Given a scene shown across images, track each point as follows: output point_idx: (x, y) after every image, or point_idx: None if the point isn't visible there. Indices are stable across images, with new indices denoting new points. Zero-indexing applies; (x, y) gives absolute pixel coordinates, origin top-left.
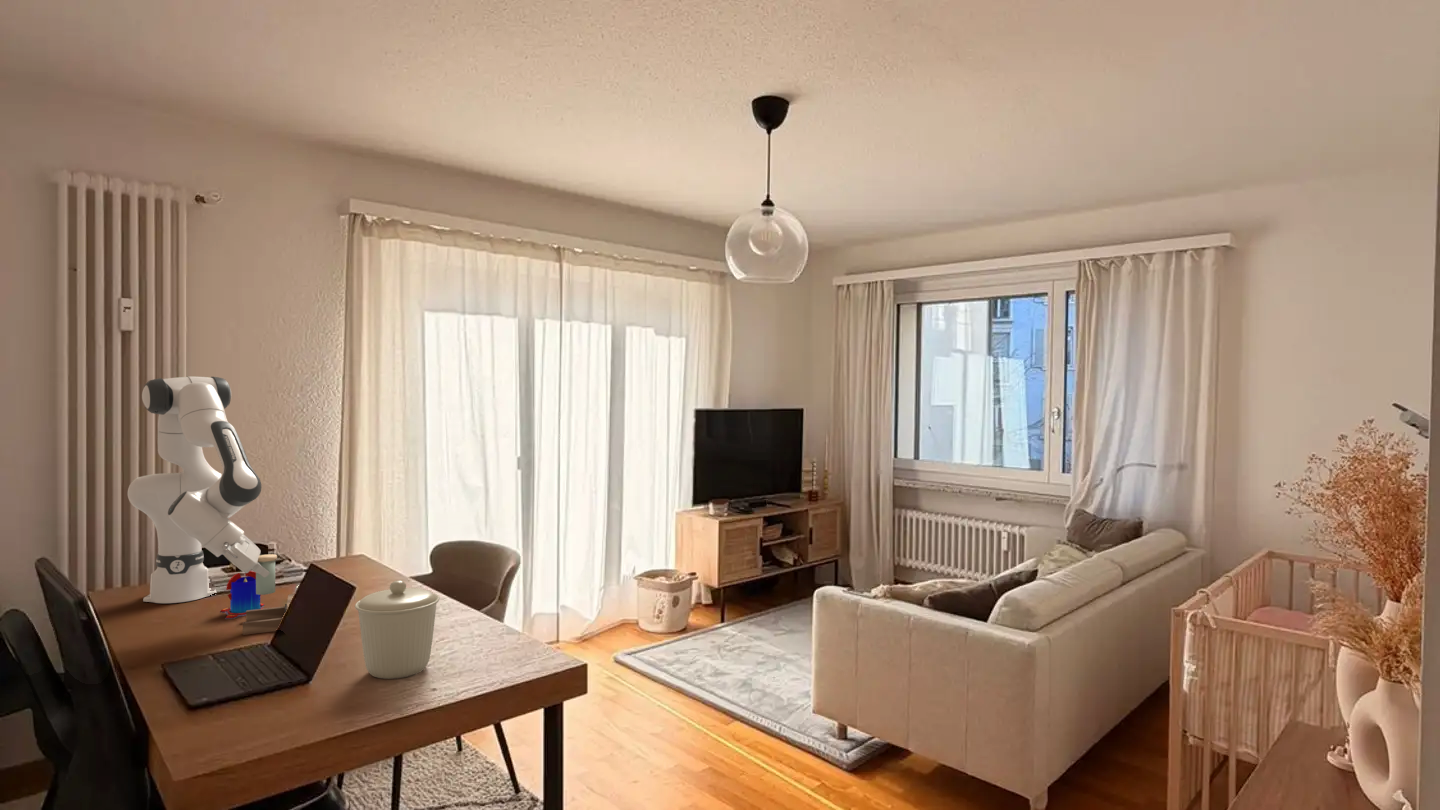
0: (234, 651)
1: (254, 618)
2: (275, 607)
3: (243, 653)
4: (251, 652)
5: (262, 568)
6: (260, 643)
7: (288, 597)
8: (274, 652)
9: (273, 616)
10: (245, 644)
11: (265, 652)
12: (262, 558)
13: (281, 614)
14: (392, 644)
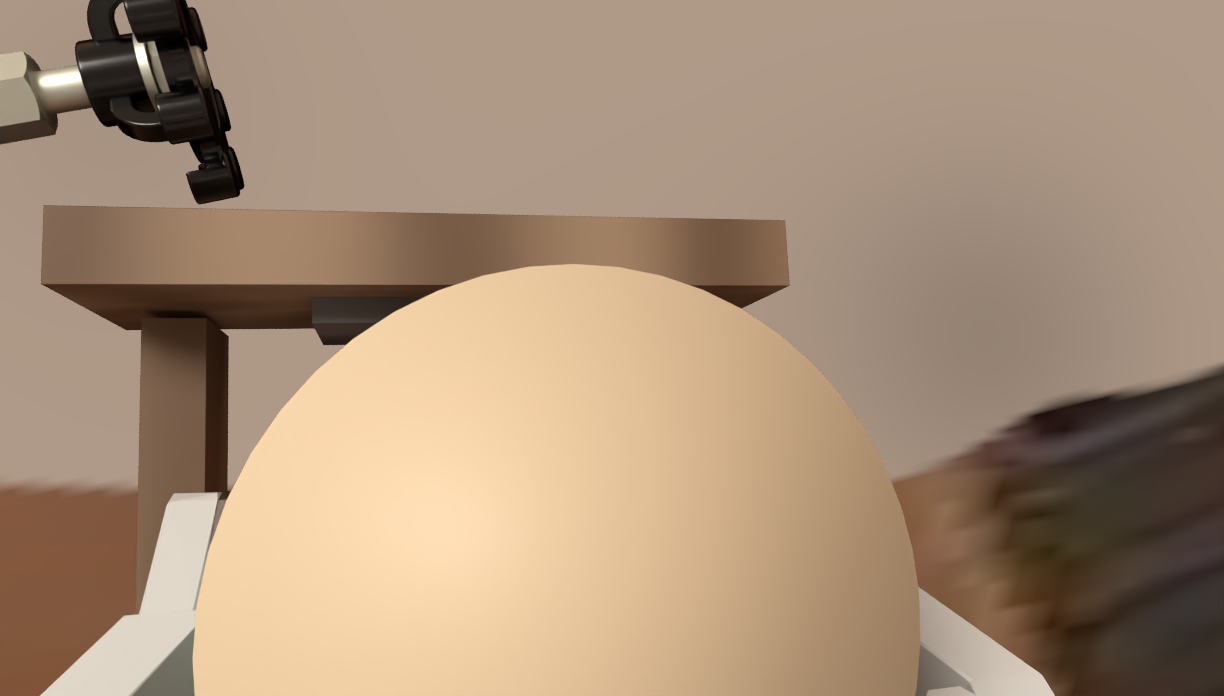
0: (1111, 658)
1: None
2: (146, 445)
3: (1173, 585)
4: (1167, 533)
5: (920, 606)
6: (981, 496)
7: (230, 276)
8: (1210, 381)
9: (223, 463)
10: (969, 606)
11: (1194, 439)
12: (916, 673)
13: (222, 385)
14: None
